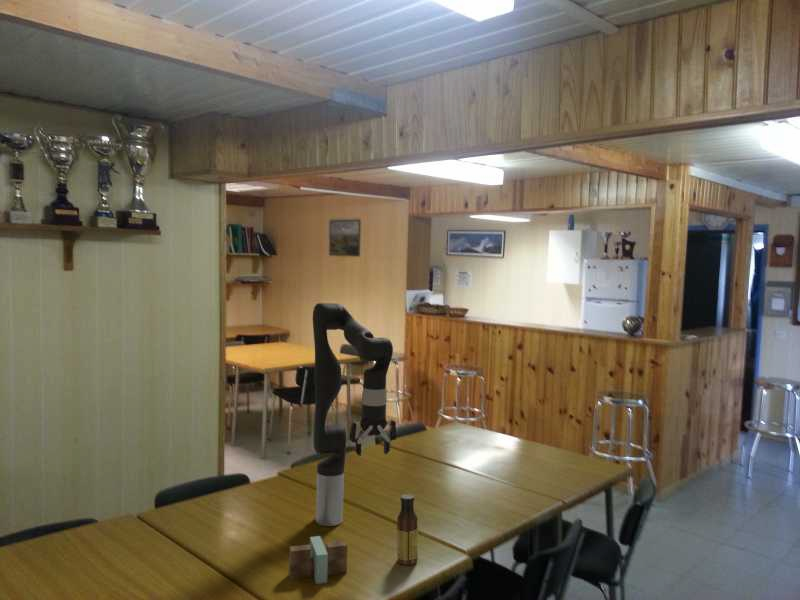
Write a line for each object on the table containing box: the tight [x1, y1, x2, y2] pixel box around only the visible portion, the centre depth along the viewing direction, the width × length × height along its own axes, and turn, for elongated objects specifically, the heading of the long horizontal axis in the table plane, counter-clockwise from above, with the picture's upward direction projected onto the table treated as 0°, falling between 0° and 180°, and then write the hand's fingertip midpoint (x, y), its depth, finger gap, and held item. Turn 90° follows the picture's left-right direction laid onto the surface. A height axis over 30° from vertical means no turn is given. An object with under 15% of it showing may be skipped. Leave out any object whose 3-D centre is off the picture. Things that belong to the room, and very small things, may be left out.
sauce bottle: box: [396, 493, 419, 566], centre depth 181 cm, size 7×6×20 cm
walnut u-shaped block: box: [288, 540, 348, 580], centre depth 172 cm, size 16×3×8 cm, turn 108°
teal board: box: [309, 535, 328, 585], centre depth 173 cm, size 12×3×8 cm, turn 18°
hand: (372, 454), depth 187 cm, fingers open, 8 cm apart
